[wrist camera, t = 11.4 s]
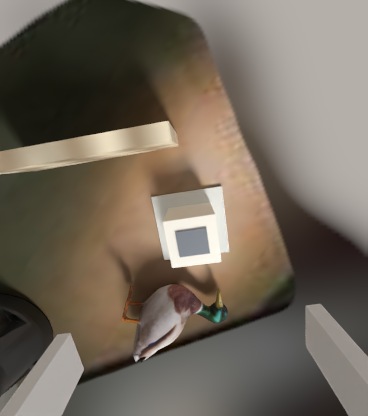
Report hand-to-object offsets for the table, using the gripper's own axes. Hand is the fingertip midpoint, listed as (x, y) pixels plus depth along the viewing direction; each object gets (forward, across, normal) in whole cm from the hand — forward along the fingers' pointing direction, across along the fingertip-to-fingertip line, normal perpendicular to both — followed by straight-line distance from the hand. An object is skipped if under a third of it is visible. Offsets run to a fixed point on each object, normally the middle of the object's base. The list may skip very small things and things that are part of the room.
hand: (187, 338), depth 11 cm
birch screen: (+19, -10, +12) cm, 24 cm away
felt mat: (+19, 0, 0) cm, 19 cm away
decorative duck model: (+19, -5, -14) cm, 24 cm away
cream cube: (+18, +1, 0) cm, 18 cm away
